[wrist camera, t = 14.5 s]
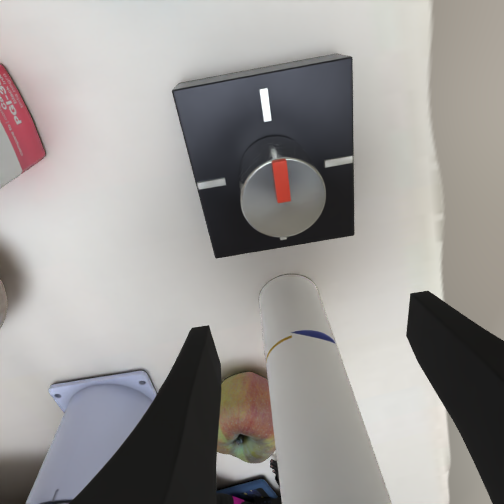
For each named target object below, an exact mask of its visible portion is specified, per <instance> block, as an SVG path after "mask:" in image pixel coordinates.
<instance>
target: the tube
mask: <svg viewBox="0 0 504 504" xmlns="http://www.w3.org/2000/svg"><path fill="white" fill-rule="evenodd" d="M259 306H260V315H261V324H262V332H263V341H264V350H265V359H266V367H267V376H268V385H269V393H270V402H271V411H272V420H273V429H274V438H275V447H276V455H277V464H278V473H279V482H280V491H281V500H282V504H392V503H391V500H390V497H389V494H388V491H387V489H386V486H385V483H384V480H383V477H382V474H381V471H380V468H379V465H378V463H377V460H376V457H375V454H374V451H373V448H372V445H371V442H370V439H369V437H368V434H367V431H366V428H365V425H364V422H363V419H362V416H361V413H360V411H359V408H358V405H357V402H356V399H355V396H354V393H353V390H352V387H351V385H350V382H349V379H348V376H347V373H346V370H345V367H344V364H343V361H342V359H341V356H340V353H339V350H338V347H337V344H336V341H335V338H334V335H333V333H332V330H331V327H330V324H329V321H328V318H327V315H326V312H325V309H324V307H323V304H322V301H321V298H320V295H319V292H318V289H317V287H316V285H315V284H314V283H313V282H312V281H311V280H310V279H308V278H306V277H304V276H301V275H296V274H288V275H282V276H279V277H276V278H274V279H272V280H271V281H270V282H268V283H267V284H266V285H265V286H264V287H263V289H262V290H261V293H260V296H259Z"/></svg>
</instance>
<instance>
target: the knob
mask: <svg viewBox="0 0 504 504" xmlns="http://www.w3.org/2000/svg"><path fill="white" fill-rule="evenodd" d="M239 188H240V202H241V209H242V212H243V214H244V217H245V218H246V220H247V221H248V223H249V224H250V225H251V226H252V227H253V228H254V229H256V230H257V231H259V232H261V233H263V234H265V235H268V236H272V237H289V236H293V235H296V234H299V233H301V232H303V231H305V230H306V229H308V228H309V227H310V226H312V225H313V224H314V223H315V222H316V220H317V219H318V218H319V216H320V214H321V213H322V210H323V208H324V205H325V201H326V188H325V184H324V181H323V179H322V177H321V175H320V173H319V172H318V170H317V169H316V167H315V166H314V164H313V163H312V161H311V159H310V158H309V156H308V155H307V153H306V152H305V150H304V149H303V148H302V146H301V145H299V144H298V143H297V142H295V141H294V140H292V139H290V138H287V137H282V136H270V137H266V138H263V139H261V140H259V141H257V142H255V143H254V144H253V145H251V146H250V147H249V148H248V149H247V151H246V152H245V153H244V155H243V157H242V159H241V162H240V165H239Z"/></svg>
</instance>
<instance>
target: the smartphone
mask: <svg viewBox="0 0 504 504" xmlns="http://www.w3.org/2000/svg"><path fill="white" fill-rule="evenodd" d="M216 493H224V494H228V495H231V496H234V497H237V498H240V499H243V500H245V501H247V500H252V501H254V499H253V497H252V496H255V497H261V498H271V499H274V498H277V497H278V496H277V494H276V493H275V492H274V491H273V490H272V488H271V487H270V486H269V485H268V483H267V482H266V481H265V480H264V479H258V480H254V481H251V482H247V483H244V484H240V485H236V486H233V487H229V488H225V489H222V490H218V491H216Z"/></svg>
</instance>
